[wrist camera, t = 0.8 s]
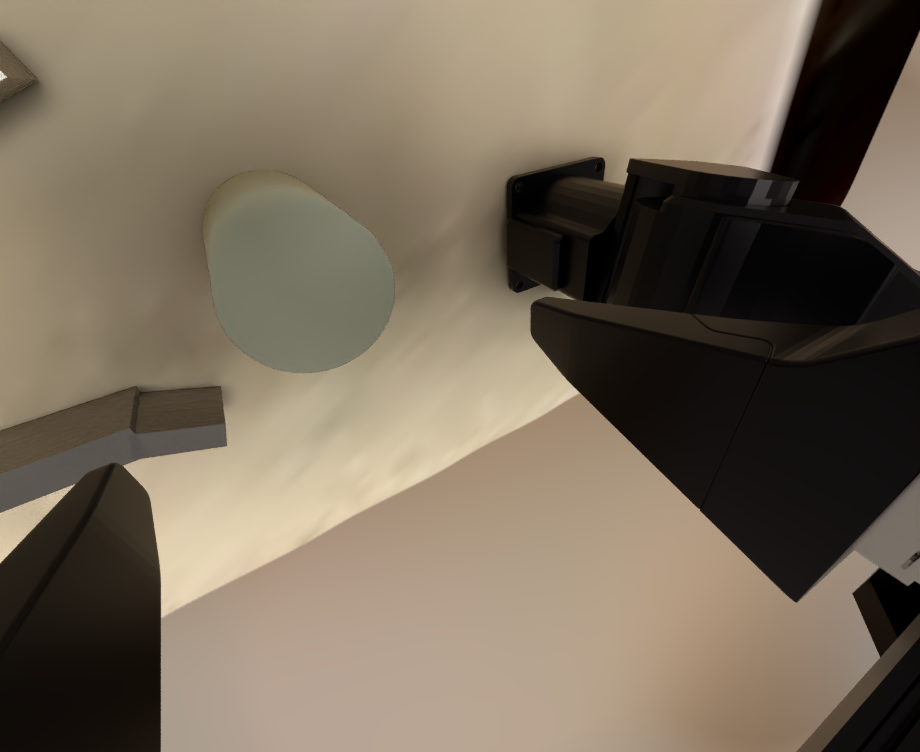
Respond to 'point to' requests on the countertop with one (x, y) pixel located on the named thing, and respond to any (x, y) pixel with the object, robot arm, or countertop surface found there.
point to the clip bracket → (99, 413)
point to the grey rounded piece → (294, 274)
